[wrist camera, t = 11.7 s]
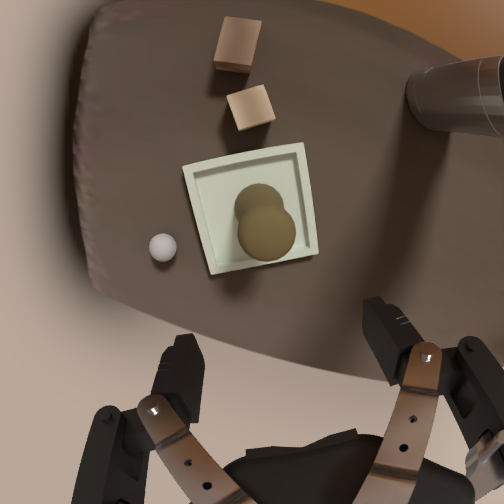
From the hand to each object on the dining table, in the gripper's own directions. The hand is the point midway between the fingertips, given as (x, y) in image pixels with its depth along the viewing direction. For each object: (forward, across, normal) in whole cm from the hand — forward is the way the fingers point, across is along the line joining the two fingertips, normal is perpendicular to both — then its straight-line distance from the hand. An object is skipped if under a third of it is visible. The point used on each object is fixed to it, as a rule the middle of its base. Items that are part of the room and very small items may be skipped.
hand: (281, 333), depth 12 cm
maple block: (+23, -2, -12) cm, 26 cm away
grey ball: (+21, +12, +2) cm, 25 cm away
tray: (+23, 0, 0) cm, 23 cm away
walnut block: (+23, -2, -20) cm, 31 cm away
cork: (+23, 0, 0) cm, 23 cm away
